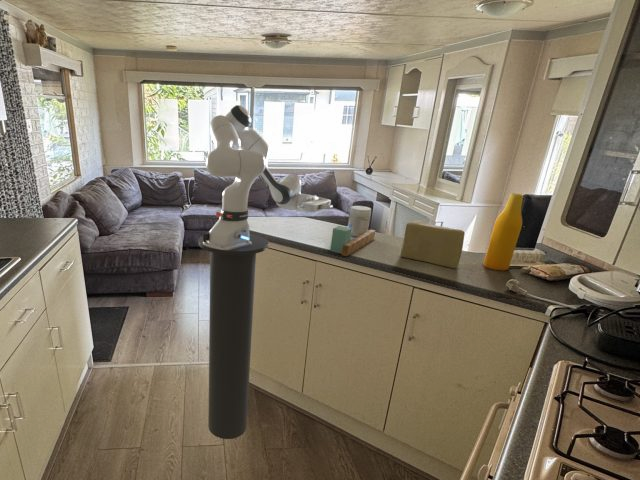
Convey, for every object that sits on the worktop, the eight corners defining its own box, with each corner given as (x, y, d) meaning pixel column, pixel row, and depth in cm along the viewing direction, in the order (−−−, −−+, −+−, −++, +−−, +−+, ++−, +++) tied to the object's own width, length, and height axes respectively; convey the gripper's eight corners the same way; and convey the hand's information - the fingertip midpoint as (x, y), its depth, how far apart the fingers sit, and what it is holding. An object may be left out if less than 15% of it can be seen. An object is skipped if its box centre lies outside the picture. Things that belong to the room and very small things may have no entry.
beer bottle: (509, 272, 168) (532, 197, 156) (482, 268, 171) (503, 194, 160) (507, 265, 175) (530, 194, 163) (482, 261, 179) (502, 191, 167)
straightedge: (346, 256, 179) (348, 246, 177) (341, 255, 180) (342, 244, 178) (373, 239, 204) (375, 230, 203) (368, 238, 206) (370, 229, 204)
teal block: (343, 254, 181) (346, 231, 177) (330, 251, 184) (333, 228, 180) (348, 250, 186) (351, 228, 182) (335, 248, 189) (338, 225, 185)
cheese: (461, 266, 173) (471, 229, 166) (452, 271, 166) (461, 233, 160) (409, 252, 187) (416, 218, 181) (399, 256, 181) (405, 221, 175)
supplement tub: (342, 235, 209) (347, 205, 203) (361, 235, 210) (365, 205, 204) (351, 241, 200) (355, 210, 194) (370, 241, 202) (375, 209, 196)
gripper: (296, 199, 205) (323, 203, 198) (315, 194, 220) (340, 198, 213) (295, 212, 207) (321, 217, 200) (314, 206, 223) (339, 210, 216)
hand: (331, 207), depth 207 cm, fingers closed
